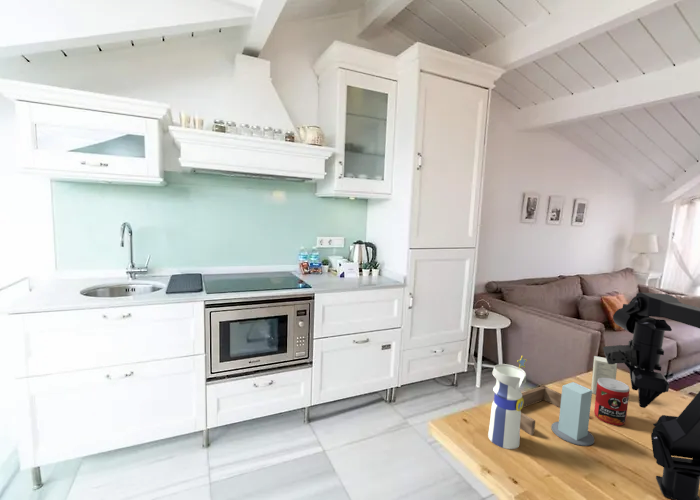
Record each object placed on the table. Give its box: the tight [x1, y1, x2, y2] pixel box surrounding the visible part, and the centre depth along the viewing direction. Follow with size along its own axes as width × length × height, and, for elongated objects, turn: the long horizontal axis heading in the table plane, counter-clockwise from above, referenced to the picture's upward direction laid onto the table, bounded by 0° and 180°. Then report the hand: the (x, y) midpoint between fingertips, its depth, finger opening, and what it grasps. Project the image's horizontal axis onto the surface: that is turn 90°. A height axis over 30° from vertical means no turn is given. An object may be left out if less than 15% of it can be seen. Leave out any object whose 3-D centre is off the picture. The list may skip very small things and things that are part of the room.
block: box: [558, 381, 593, 440], centre depth 94 cm, size 5×5×13 cm
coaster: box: [550, 421, 595, 447], centre depth 95 cm, size 10×10×1 cm
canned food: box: [593, 378, 630, 427], centre depth 102 cm, size 8×8×11 cm
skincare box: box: [590, 355, 618, 395], centre depth 117 cm, size 6×4×12 cm
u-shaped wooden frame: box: [520, 385, 562, 436], centre depth 104 cm, size 11×22×4 cm, turn 118°
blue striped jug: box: [487, 355, 528, 450], centre depth 90 cm, size 8×9×25 cm
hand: (638, 398), depth 89 cm, fingers open, 9 cm apart
